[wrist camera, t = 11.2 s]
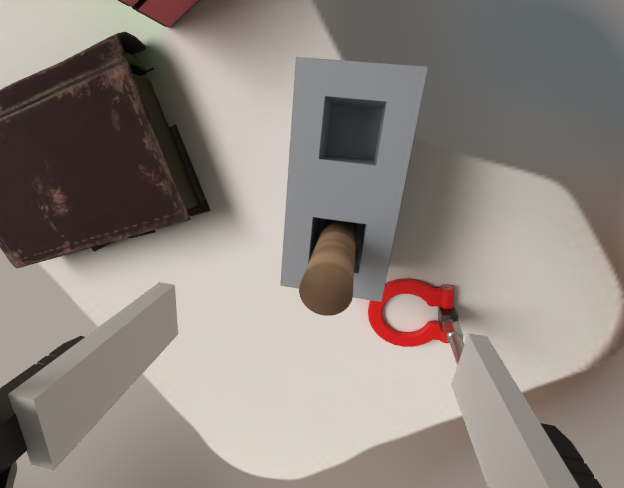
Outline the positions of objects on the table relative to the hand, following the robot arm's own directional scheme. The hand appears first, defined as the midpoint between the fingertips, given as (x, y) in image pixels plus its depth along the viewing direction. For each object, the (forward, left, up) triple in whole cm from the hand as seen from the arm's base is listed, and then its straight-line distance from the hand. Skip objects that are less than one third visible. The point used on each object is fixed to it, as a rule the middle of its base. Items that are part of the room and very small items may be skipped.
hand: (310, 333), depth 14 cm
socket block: (-4, 0, -21) cm, 21 cm away
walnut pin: (0, 0, -19) cm, 19 cm away
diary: (-2, -30, -21) cm, 37 cm away
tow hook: (+10, +9, -21) cm, 25 cm away
